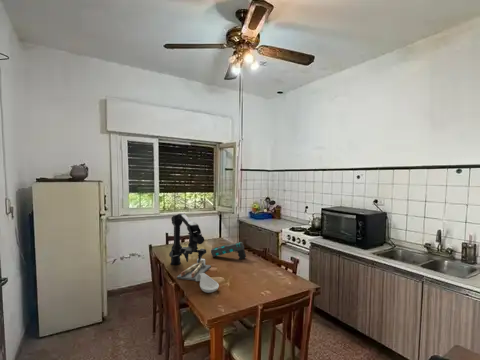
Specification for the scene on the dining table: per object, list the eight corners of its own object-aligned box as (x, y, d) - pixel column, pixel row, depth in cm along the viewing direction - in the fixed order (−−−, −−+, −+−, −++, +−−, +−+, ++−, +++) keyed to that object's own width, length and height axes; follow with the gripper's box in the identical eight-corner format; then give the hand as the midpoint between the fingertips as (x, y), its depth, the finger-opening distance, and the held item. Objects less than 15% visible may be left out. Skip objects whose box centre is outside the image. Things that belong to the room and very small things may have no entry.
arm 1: (198, 265, 203) (198, 262, 203) (199, 266, 202) (199, 263, 202) (180, 275, 183) (180, 272, 183) (182, 276, 182) (182, 272, 182)
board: (176, 278, 182) (176, 276, 182) (194, 265, 209) (194, 263, 209) (195, 280, 178) (195, 278, 178) (210, 266, 205) (210, 265, 205)
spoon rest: (222, 292, 162) (222, 281, 161) (204, 297, 155) (204, 285, 155) (206, 279, 182) (206, 269, 182) (190, 282, 176) (190, 272, 175)
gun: (246, 258, 222) (240, 241, 222) (214, 266, 228) (209, 249, 229) (247, 256, 228) (242, 239, 229) (216, 263, 234) (212, 247, 235)
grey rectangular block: (198, 264, 206) (198, 258, 206) (205, 265, 205) (205, 259, 205) (196, 265, 204) (196, 259, 203) (203, 266, 202) (203, 260, 202)
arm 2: (200, 266, 202) (200, 263, 202) (202, 266, 202) (202, 263, 202) (191, 277, 180) (191, 273, 180) (193, 277, 180) (193, 273, 180)
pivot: (200, 264, 208) (201, 261, 208) (204, 264, 207) (204, 262, 207) (198, 266, 203) (198, 263, 203) (201, 266, 202) (201, 264, 202)
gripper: (176, 242, 185) (176, 264, 185) (200, 245, 180) (200, 267, 180) (183, 239, 196) (183, 259, 196) (206, 241, 191) (206, 262, 191)
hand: (193, 262), depth 191 cm, fingers open, 9 cm apart
